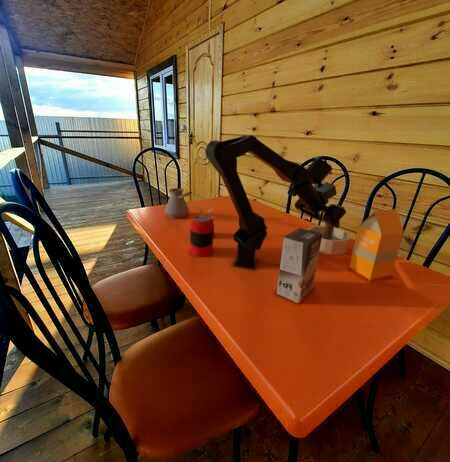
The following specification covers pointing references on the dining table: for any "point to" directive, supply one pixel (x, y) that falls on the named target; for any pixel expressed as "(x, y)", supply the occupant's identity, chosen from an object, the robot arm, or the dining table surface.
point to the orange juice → (377, 244)
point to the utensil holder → (209, 217)
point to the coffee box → (298, 264)
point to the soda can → (201, 236)
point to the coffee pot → (177, 204)
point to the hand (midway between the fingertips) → (328, 222)
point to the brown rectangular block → (328, 230)
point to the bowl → (333, 241)
